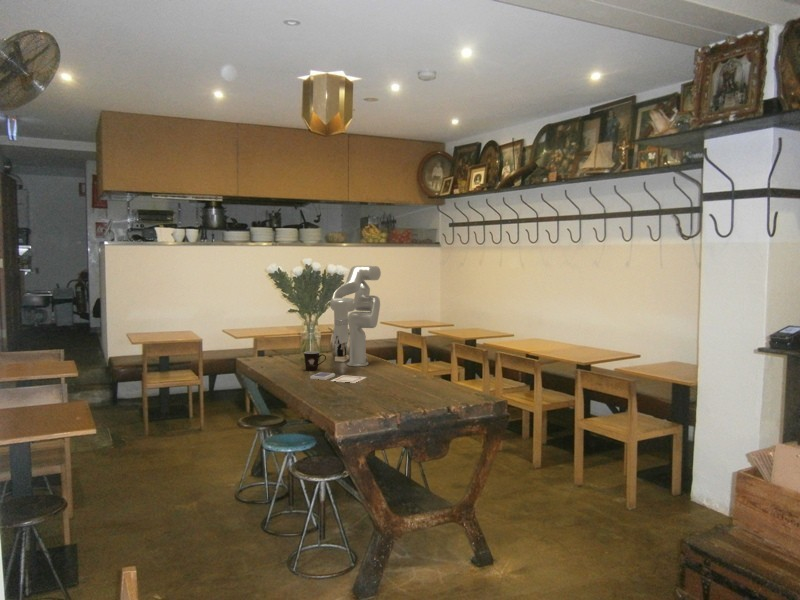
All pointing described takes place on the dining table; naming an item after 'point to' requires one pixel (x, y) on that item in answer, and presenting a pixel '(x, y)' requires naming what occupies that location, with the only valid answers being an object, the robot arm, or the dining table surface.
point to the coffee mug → (312, 360)
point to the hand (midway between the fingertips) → (341, 355)
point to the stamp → (344, 357)
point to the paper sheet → (348, 379)
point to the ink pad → (322, 376)
